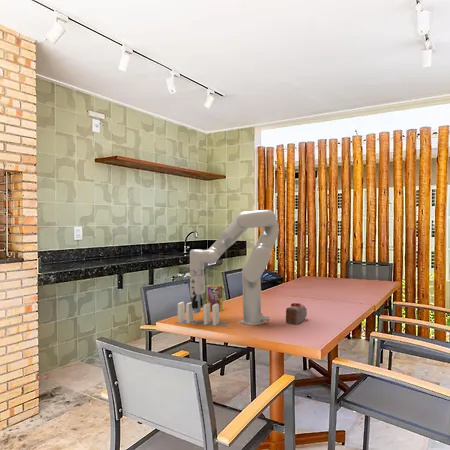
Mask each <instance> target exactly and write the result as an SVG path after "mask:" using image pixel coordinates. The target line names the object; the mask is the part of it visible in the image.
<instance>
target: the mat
mask: <svg viewBox="0 0 450 450" xmlns="http://www.w3.org/2000/svg"><path fill="white" fill-rule="evenodd" d="M175 323H176V324H177V323H178V324H187V325H189V324H191V325H203V326H216V327H227V326H228V325H230V324H231V323H230V322H225V321H223V322H222V321H219V323H218V324H217V325H213V321H211V320H210V323H208V324H207V325H205V324H204V320H196V319H195V320H194V319H193V321H192V322H191V323H186V319H185V321H183V322H181V323H179V322H178V321H176V322H175Z"/></svg>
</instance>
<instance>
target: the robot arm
mask: <svg viewBox="0 0 450 450" xmlns="http://www.w3.org/2000/svg"><path fill="white" fill-rule="evenodd" d="M250 228H251V229H253V228H262V230H261V233H260V235H259V237H258V240H257V241H256V243H255V245H254V246H253V248H252V250H251V253H250V256H249V257H248V260H247V261H246V263H245V264H244V265H243V266H242V270H241V274H242V275H241V277H242V310H243V311H242V314H243V316H242V317H243V318H242V319H241V320H240V324H242V325H246V326H261V325H263V324H265V322H266V321H267V322H269V321H270V316H266V315H264V313H263V312H262V286H261V285H262V283H261V282H262V281H261V280H262V279H261V277H262V276H263V273H264V272H265V270H266V268H267V266H268V264H269V261H270V259H271V256H272V250H273V248H274V246H275V243H276V241H277V239H278V236H279V232H280V227H279V221H278V220H277V217H276V214H275V212H274V211H273V210H271V209H262V210H249V211H248V210H245V211H244V210H243V211H241V212H239V214H238V215H237V216H236V217H235V218H234V219H233V220H232V221H231V223H229V225H227V227H225V229H223V231H222V232H221V234H220V235H219V237H218V238H217V239H216V241H214V243H213V244H212V245H211V246H210V247H209V248H207V249H200V248H199V249H198V248H197V249H190V250H189V277H190V279H189V293H190V294H189V297H190V298H191V302H192V308H193V309H194V308H195V309H197V308H198V301H197V298H198V295H200V296H201V299H200V305H201V307H203V305H204V304H203V296H204V294H205V293H206V279H205V264H209V265H210V264H215V263H216V262H217V261H218V260H219V259H220V258H221V256H222V255H223V254H224V253H225V252H226V251H227V250H228V249H229V248H231V246H233V245H234V244H235V243H236V242H237V241H238V240H239V239H240V238H241V236H243V235H244V233H245V232H247V230H248V229H250ZM194 294H196V295H194ZM195 296H196V298H195Z"/></svg>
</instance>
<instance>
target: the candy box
mask: <svg viewBox="0 0 450 450" xmlns="http://www.w3.org/2000/svg"><path fill="white" fill-rule="evenodd" d="M206 288H207V303H210V312H212V305H214V304H219V312H220V311H221V312H223V311H224V304H223V303H224V302H223V285H222V284H208V285H207V287H206Z"/></svg>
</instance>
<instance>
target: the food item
mask: <svg viewBox="0 0 450 450" xmlns="http://www.w3.org/2000/svg"><path fill="white" fill-rule="evenodd" d="M307 310H308V309H307V308H306V306H305V305H303V304H302V303H298V302H294V303H290V306H289V307H287V308H286V309H285V323H286V324H288V325H294V326H295V325H298V324H299V323H303V321H304V320H305V319H306V318H307V315H308V312H307Z"/></svg>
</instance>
